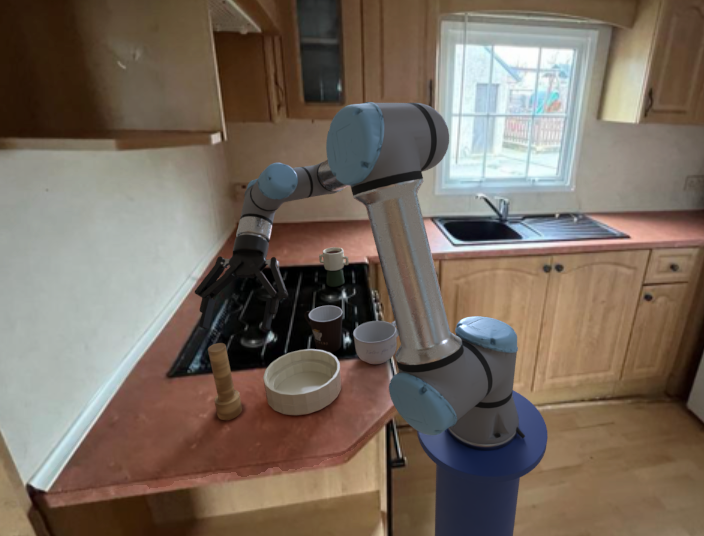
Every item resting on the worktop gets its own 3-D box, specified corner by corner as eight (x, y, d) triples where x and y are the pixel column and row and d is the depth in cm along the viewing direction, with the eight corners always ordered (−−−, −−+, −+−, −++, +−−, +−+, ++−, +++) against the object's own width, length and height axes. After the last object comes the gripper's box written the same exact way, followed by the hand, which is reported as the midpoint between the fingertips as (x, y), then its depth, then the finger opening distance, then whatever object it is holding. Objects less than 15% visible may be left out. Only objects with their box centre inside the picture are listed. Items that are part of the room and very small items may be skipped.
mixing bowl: (355, 381, 96) (354, 360, 94) (309, 428, 82) (306, 404, 80) (301, 363, 103) (299, 342, 100) (251, 403, 89) (246, 380, 87)
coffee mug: (350, 349, 108) (347, 315, 105) (318, 359, 104) (315, 325, 101) (333, 329, 118) (331, 298, 114) (304, 338, 113) (300, 306, 110)
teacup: (366, 375, 98) (365, 346, 95) (347, 353, 106) (345, 326, 104) (415, 356, 105) (415, 329, 102) (394, 337, 114) (393, 312, 111)
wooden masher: (247, 408, 88) (235, 344, 82) (228, 423, 84) (214, 356, 78) (231, 401, 90) (218, 338, 84) (212, 415, 86) (197, 350, 80)
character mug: (353, 282, 148) (351, 248, 144) (346, 290, 142) (343, 255, 137) (325, 279, 151) (322, 246, 146) (317, 287, 144) (313, 252, 140)
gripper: (308, 247, 100) (296, 333, 92) (208, 246, 101) (187, 331, 92) (300, 233, 94) (286, 324, 85) (192, 232, 94) (168, 322, 86)
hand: (234, 328), depth 89 cm, fingers open, 13 cm apart
